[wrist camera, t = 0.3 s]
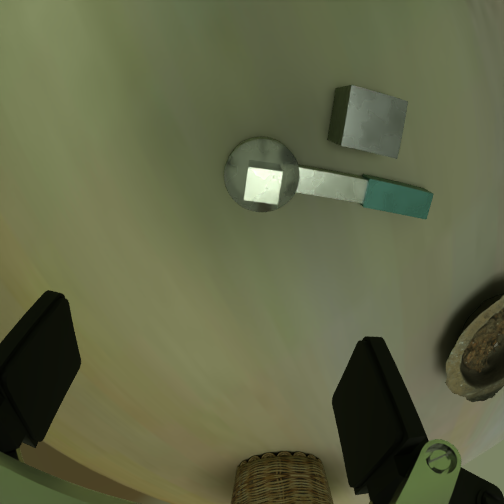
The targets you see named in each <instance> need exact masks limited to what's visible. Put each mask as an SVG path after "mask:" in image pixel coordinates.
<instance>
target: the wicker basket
mask: <svg viewBox="0 0 504 504" xmlns="http://www.w3.org/2000/svg"><path fill="white" fill-rule="evenodd" d="M267 457H268V458H267ZM231 504H333V500H332V496H331V493H330V489H329V485H328V481H327V478H326V474H325V471H324V468H323V464H322V462H321V460H320V459H316V458H315V456H314V455H311V454H309V455H308V456H307V457H306V455H305V454H304V453H302V452H296V453H294V455H293V456H292V455H291V454H290V453H289V452H287V451H282V452H280V453H278V455H277V456H275V455H274V454H273V453H266V454H264V455H263V456H262V457H261V459H260V458H259V457H258V456H253V457H251V458H250V459H249V461H248V462H247V461H246V460H245V461H243V462H242V463H241V465H240V466H238V467H237V472H236V477H235V483H234V489H233V495H232V501H231Z"/></svg>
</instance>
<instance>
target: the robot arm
mask: <svg viewBox="0 0 504 504" xmlns="http://www.w3.org/2000/svg"><path fill="white" fill-rule="evenodd" d="M80 365H81V358H80V354H79V349H78V345H77V341H76V336H75V332H74V327H73V322H72V317H71V312H70V306H69V302H68V300H67V299H65V296H64V295H63V294H62V293H58V292H54V291H49V290H48V291H46V292H45V293H44V294H43V295H42V296H41V297H40V298H39V299H38V300H37V301H36V302H35V303H34V305H33V306H32V307H31V308H30V309H29V310H28V311H27V312H26V314H25V315H24V316H23V317H22V318H21V319H20V320H19V322H18V323H17V324H16V325H15V326H14V328H13V329H12V330H11V331H10V332H9V333H8V335H7V336H6V337H5V338H4V340H3V341H2V342H1V343H0V504H140V503H136V502H132V501H128V500H124V499H120V498H117V497H113V496H110V495H106V494H103V493H100V492H96V491H93V490H90V489H87V488H84V487H81V486H79V485H76V484H73V483H70V482H68V481H65V480H62V479H60V478H57V477H55V476H52V475H50V474H48V473H45V472H43V471H40V470H38V469H36V468H34V467H31V466H29V465H27V464H25V463H24V461H23V458H22V455H21V451H20V445H21V443H22V442H23V443H25V444H27V445H30V446H32V447H34V448H36V446H37V444H38V442H41V441H42V440H43V439H44V437H45V435H46V433H47V431H48V429H49V427H50V425H51V423H52V421H53V419H54V417H55V415H56V413H57V411H58V409H59V407H60V405H61V403H62V401H63V399H64V397H65V395H66V393H67V391H68V389H69V387H70V385H71V383H72V382H73V380H74V378H75V376H76V374H77V372H78V370H79V368H80ZM332 405H333V410H334V414H335V419H336V424H337V428H338V433H339V438H340V443H341V447H342V452H343V457H344V462H345V467H346V472H347V477H348V483H349V485H350V487H354V491H355V495H359V494H366V493H369V497H370V502H369V504H504V497H503V494H502V492H501V491H500V489H499V488H498V487H497V486H495V485H494V484H492V483H489V482H488V481H486V480H484V479H482V478H480V477H478V476H476V475H474V474H472V473H471V472H469V471H467V470H465V469H463V468H461V456H460V454H459V452H458V450H457V449H456V448H455V447H454V445H452V444H451V443H449V442H448V441H445V440H442V439H435V440H431V441H428V438H427V435H426V433H425V430H424V428H423V426H422V423H421V421H420V418H419V416H418V414H417V411H416V409H415V407H414V404H413V402H412V400H411V397H410V395H409V393H408V391H407V388H406V386H405V384H404V382H403V379H402V377H401V375H400V373H399V371H398V368H397V366H396V364H395V362H394V360H393V358H392V356H391V353H390V351H389V349H388V347H387V345H386V343H385V341H384V339H383V338H382V337H368V336H366V337H364V338H363V340H362V341H358V342H357V344H356V347H355V349H354V351H353V354H352V356H351V358H350V360H349V363H348V365H347V367H346V369H345V371H344V373H343V376H342V378H341V380H340V382H339V384H338V386H337V388H336V390H335V392H334V395H333V398H332Z"/></svg>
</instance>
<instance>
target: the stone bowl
mask: <svg viewBox="0 0 504 504" xmlns="http://www.w3.org/2000/svg"><path fill="white" fill-rule="evenodd" d="M497 342H498V345H497V346H496V347H494V345H495V344H496V343H497ZM456 343H457V344H456V345H455V347H454V348H453V349H452V351H451V354H450V356H449V358H448V359H447V362H446V373H447V380H446V382H445V383H446V385H447V386H448V388H449V389H450V390H451V391H452V392H453V393H454V394H458V395H460V396H463V397H464V396H465V397H466V399H467V400H469V401H471V402H475V401H485V400H487V399H488V398H492V397H493V396H494V395H495V393H497V392H498V391H499V390H500V389H501V388H502V387H503V386H504V294H503V295H499V296H496V297H494V298H492V299H489V300H486V301H484V302H483V303H482V304H481V306H480V307H479V309H478V310H476V311H475V312H474V313H473V314H472V315H471V316H470V318H469V319H468V320H467V322H466V323H465V325H464V328H463V331H462V334H461V336H460V337H459V339H458V341H457V342H456ZM489 352H490V353H489ZM488 353H489V354H488Z"/></svg>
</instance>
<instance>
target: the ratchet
mask: <svg viewBox="0 0 504 504" xmlns="http://www.w3.org/2000/svg"><path fill="white" fill-rule="evenodd" d="M224 180H225V185H226V188H227V191H228V193H229V194H230V196H231V197H232V199H233V200H234V201H235V202H236V203H238V204H239V205H240V206H242V207H244V208H246V209H248V210H251V211H255V212H268V211H273V210H276V209H278V208H280V207H282V206H284V205H285V204H286V203H287V202H288V201H289V200H290V199H291V198H292V197H293V196H294V194H295V192H297V193H304V194H310V195H316V196H322V197H328V198H334V199H340V200H346V201H351V202H357V203H360V204H361V205H362V206H363V207H366V208H371V209H377V210H382V211H387V212H392V213H397V214H402V215H407V216H412V217H417V218H422V219H427V215H428V212H429V208H430V205H431V201H432V198H433V193H431V192H429V191H428V190H426V189H424V188H421V187H417V186H413V185H409V184H405V183H401V182H396V181H392V180H388V179H383V178H379V177H374V176H370V175H365V174H363V175H362V176H358V175H353V174H348V173H343V172H338V171H332V170H327V169H321V168H316V167H310V166H304V165H298V163H297V161H296V159H295V157H294V156H293V154H292V153H291V152H290V151H289V149H288V148H287V147H286V146H285V145H283V144H282V143H281V142H279V141H277V140H275V139H272V138H268V137H255V138H251V139H248V140H246V141H244V142H242V143H241V144H239V145H238V146H237V147H236V148H235V149H234V150H233V152H232V153H231V155H230V157H229V159H228V161H227V163H226V166H225V171H224Z"/></svg>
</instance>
